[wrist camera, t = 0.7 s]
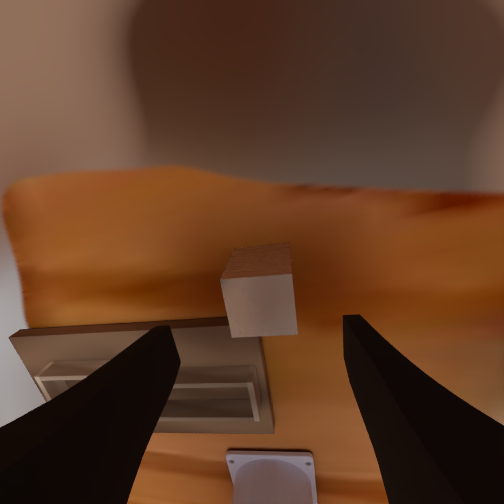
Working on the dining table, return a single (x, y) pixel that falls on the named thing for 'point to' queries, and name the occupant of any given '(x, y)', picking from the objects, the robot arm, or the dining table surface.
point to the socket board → (188, 379)
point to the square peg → (260, 291)
